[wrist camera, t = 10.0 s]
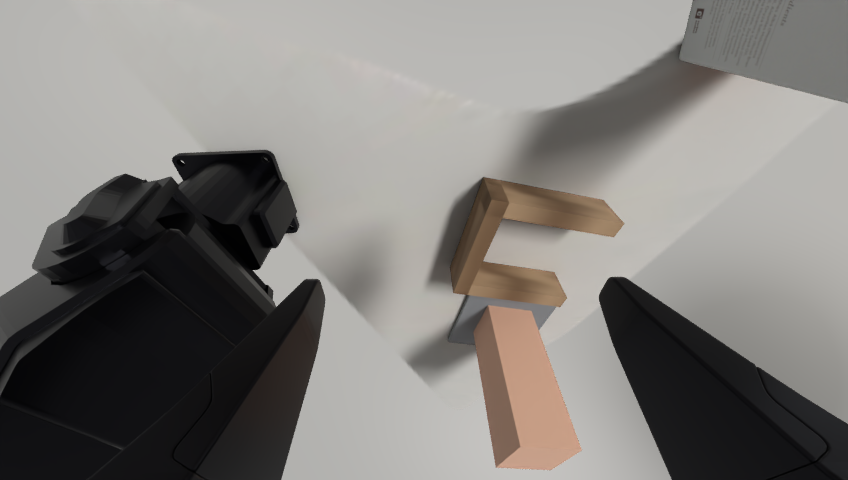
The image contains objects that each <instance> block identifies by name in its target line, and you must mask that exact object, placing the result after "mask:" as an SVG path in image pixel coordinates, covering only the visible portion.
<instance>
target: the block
mask: <svg viewBox="0 0 848 480" xmlns="http://www.w3.org/2000/svg"><path fill="white" fill-rule="evenodd" d="M473 333H474V339H475V345H476V351H477V357H478V363H479V369H480V375H481V381H482V387H483V393H484V399H485V405H486V410H487V417H488V423H489V429H490V435H491V441H492V446H493V453H494V459H495V465H496V467H497V468H516V469H537V470H552V469H553V468H555V467H556V466H558V465H559V464H561V463H563V462H564V461H566V460H567V459H569V458H571V457H572V456H574V455H575V454H577V453H578V452H580V451H581V450H582V449H581V447H580V444H579V441H578V438H577V436H576V433H575V430H574V427H573V425H572V422H571V419H570V416H569V413H568V411H567V408H566V405H565V402H564V400H563V397H562V394H561V391H560V389H559V386H558V383H557V380H556V377H555V375H554V372H553V369H552V366H551V363H550V361H549V358H548V355H547V353H546V350H545V347H544V344H543V341H542V339H541V336H540V333H539V330H538V327H537V325H536V322H535V319H534V316H533V314H532V311H529V310H521V309H514V308H506V307H498V306H491V305H488V306H487V308H486V310H485V312H484V314H483V315H482V317H481V319H480V321H479V323H478V325H477V326H476V328H475V330H474V332H473Z"/></svg>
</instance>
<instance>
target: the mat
mask: <svg viewBox="0 0 848 480" xmlns="http://www.w3.org/2000/svg"><path fill="white" fill-rule="evenodd" d="M488 305H491V306H498V307H506V308H514V309H521V310H529V311H532V314H533V316H534V319H535V322H536V325H537V327H538V330H539V329H540V328H541V327H542V325H543V324H544V323H545V321H546V320H547V319H548V317H549V316H550V315H551V313H552V312H553V311H554V310H555V308H556V306H548V305H541V304H533V303H525V302H518V301H510V300H502V299H495V298H487V297H480V296H472V295H468V296H467V298H466V300H465V303H464V305H463V307H462V309H461V311H460V313H459V316H458V318H457V320H456V322H455V324H454V327H453V329H452V331H451V333H450V335H449V338H448V342H452V343H462V344H471V345H475V339H474V333H473V332H474V330H475V328H476V326H477V325H478V323H479V321H480V319H481V317H482V315H483V314H484V312H485V310H486V308H487V306H488Z"/></svg>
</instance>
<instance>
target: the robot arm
mask: <svg viewBox="0 0 848 480" xmlns="http://www.w3.org/2000/svg"><path fill="white" fill-rule="evenodd" d="M263 156H266V157H267V158H268V159H269V161H267V160H265V159H264V157H263ZM181 160H182V161H184V163H185V164H184V163H182V162H181ZM172 162H173V163H174V165H175V167H176V169H177V171H178V172H179V174H180V176H181V177H182V179H183V181H182V182H181V183H180V184H179V185H178V184H177V183H176V181H175V180H174V179H173V178H172V177H167V178H164V179H161V180H157V181H151V182H147V180H141V179H139V178H136V177H133V176H131V175H128V174H123V175H120V176H117V177H114V178H113V179H111V180H109V181H108V182H106V183H105V184H103V185H101V186H100V187H98V188H96V189H95V190H93V191H92V192H90V193H89V194H87V195H86V196H85V197H84V198H82V199H81V201H79V203H78V204H77V205H76V206H75V207H74V208H72V209H71V210H70V212H69V214H68V215H67V216H65V217H63V218H62V219H60V220H58V221H56V222H55V223H53V224H51V225H50V226H49V227H48V228H47V231H46V233H45V235H44V238H43V240H42V243H41V245H40V248H39V250H38V252H37V255H36V257H35V259H34V262H33V264H32V268H33V269H34V270H36V271H37V272H38V273H37V274H35V275H34V276H32V277H30V278H29V279H27V280H26V281H24V282H23V283H21V284H20V285H18V286H16V287H15V288H13V289H12V290H10V291H9V292H7V293H6V294H4V295H2V296H1V297H0V480H281V478H282V475H283V471H284V467H285V464H286V460H287V456H288V453H289V450H290V446H291V443H292V439H293V435H294V432H295V428H296V425H297V421H298V418H299V414H300V411H301V407H302V404H303V400H304V396H305V393H306V389H307V386H308V382H309V379H310V375H311V372H312V368H313V364H314V361H315V357H316V353H317V349H318V344H319V338H320V332H321V326H322V319H323V313H324V307H325V295H324V292H323V289H322V285H321V282H320V280H318V279H306V280H304V281H303V282H302V283H301V284H300V285H299V286H298V287H297V288H296V289H295V290H294V291H293V292H291V293H290V295H288V296H287V297H286V298H285V299H284V300H283V301H282V302H281V303H280V304H279V305H278V306H277V307H276V306H275V303H274V301H273V290H272V289H271V288H270V287H269V286H268V285H265V284H264V283H263V282H262V281H261V279H260V278H259V277H258V276H257V275H256V274H255V273H254V272H253V270H258V269H260V267H261V265H262V264H263V262H264V260H265V258H266V257H267V255H268V253H269V252H270V250H271V248H276V247H277V246H278V245H279V244H280V242H281V240H282V238H283V236H284V235H285V233H295V232H297V230H298V228H299V223H298V220H297V217H296V212H297V210H296V208H295V205H294V202H293V199H292V196H291V193H290V191H289V188H288V185H287V183H286V182H285V181H284V180H283V178H282V175H281V172H280V170H279V167H278V164H277V161H276V159H275V156H274V154H273V153H271V152H270V151H268V150H251V151H225V152H200V153H179V154H177V155H175V156H174V157H173V158H172ZM290 225H292V226H294V227H291V226H290ZM599 302H600V305H601V308H602V311H603V315H604V318H605V321H606V324H607V327H608V330H609V334H610V337H611V340H612V343H613V346H614V348H615V350H616V353H617V355H618V358H619V360H620V362H621V364H622V367H623V369H624V371H625V374H626V376H627V378H628V380H629V383H630V385H631V387H632V389H633V392H634V394H635V396H636V399H637V401H638V403H639V406H640V408H641V410H642V412H643V415H644V417H645V419H646V422H647V424H648V425H649V428H650V431H651V433H652V435H653V438H654V440H655V442H656V444H657V447H658V449H659V451H660V454H661V456H662V458H663V460H664V463H665V465H666V467H667V469H668V472H669V474H670V476H671V479H672V480H848V424H847V423H845V422H844V421H842V420H840V419H839V418H837V417H835V416H834V415H832V414H830V413H829V412H827V411H826V410H824V409H822V408H821V407H819V406H818V405H816V404H814V403H813V402H811V401H810V400H808V399H806V398H805V397H803V396H801V395H800V394H798V393H797V392H795V391H794V390H792V389H791V388H789V387H788V386H786V385H785V384H783V383H782V382H780V381H778V380H777V379H776V378H774V377H773V376H771V375H770V374H768V373H766V372H765V371H764V370H762V369H761V368H759V367H756V366H755V364H753V363H752V362H750V361H749V360H747V359H746V358H744V357H742V356H741V355H740V354H738V353H737V352H735V351H733V350H732V349H730V348H729V347H728V346H726V345H725V344H723V343H722V342H720V341H719V340H717V339H716V338H714V337H713V336H711V335H710V334H709V333H707V332H706V331H704V330H703V329H701V328H699V327H698V326H697V325H695V324H694V323H692V322H690V321H689V320H688V319H686V318H685V317H683V316H682V315H680V314H679V313H677V312H676V311H674V310H673V309H671V308H670V307H668V306H667V305H665V304H663V303H662V302H661V301H659V300H658V299H656V298H655V297H653V296H652V295H650V294H649V293H648V292H646V291H645V290H643V289H642V288H640V287H638V286H637V285H636V284H634V283H633V282H631V281H630V280H628V279H627V278H625V277H610V278H609V279H608V280H607V281H606V283H605V285H604V287H603V288H602V290H601V292H600V294H599Z"/></svg>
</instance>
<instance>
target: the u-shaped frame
mask: <svg viewBox="0 0 848 480" xmlns="http://www.w3.org/2000/svg"><path fill="white" fill-rule="evenodd" d="M502 218H506V219H511V220H517V221H523V222H529V223H535V224H540V225H546V226H552V227H558V228H564V229H569V230H575V231H581V232H587V233H593V234H598V235H604V236H610V237H614V236H615V235H616V234H617V233H618V231H619V230H620V229H621V227H622V226H623V225H624V223H623V221H622V220H621V219H620V218H619V217H618V216H617V215H616V214H615V213H614V211H613V210H612V209H611V208H610V207H609V206H608V205H607V204H606V203H605V201H604V200H600V199H595V198H590V197H584V196H579V195H574V194H569V193H564V192H558V191H553V190H548V189H543V188H537V187H532V186H527V185H522V184H516V183H511V182H506V181H501V180H496V179H490V178H485V177H483V180H482V183H481V185H480V188H479V191H478V193H477V196H476V199H475V202H474V204H473V207H472V210H471V212H470V215H469V218H468V220H467V223H466V226H465V228H464V231H463V234H462V237H461V239H460V242H459V245H458V247H457V250H456V253H455V255H454V258H453V261H452V264H451V266H450V270H451V278H452V287H453V293H457V294H464V295H472V296H480V297H487V298H495V299H502V300H510V301H518V302H525V303H533V304H541V305H548V306H556V307H561V305H562V304H563V303H564V301H565V300H566V299H567V297H566V295H565V293H564V291H563V289H562V287H561V285H560V283H559V281H558V279H557V277H556V275H555V272H549V271H542V270H535V269H529V268H522V267H515V266H508V265H502V264H495V263H488V262H483V260H484V257H485V255H486V253H487V251H488V249H489V247H490V244H491V242H492V240H493V238H494V236H495V233H496V231H497V229H498V227H499V225H500V222H501V220H502Z"/></svg>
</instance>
